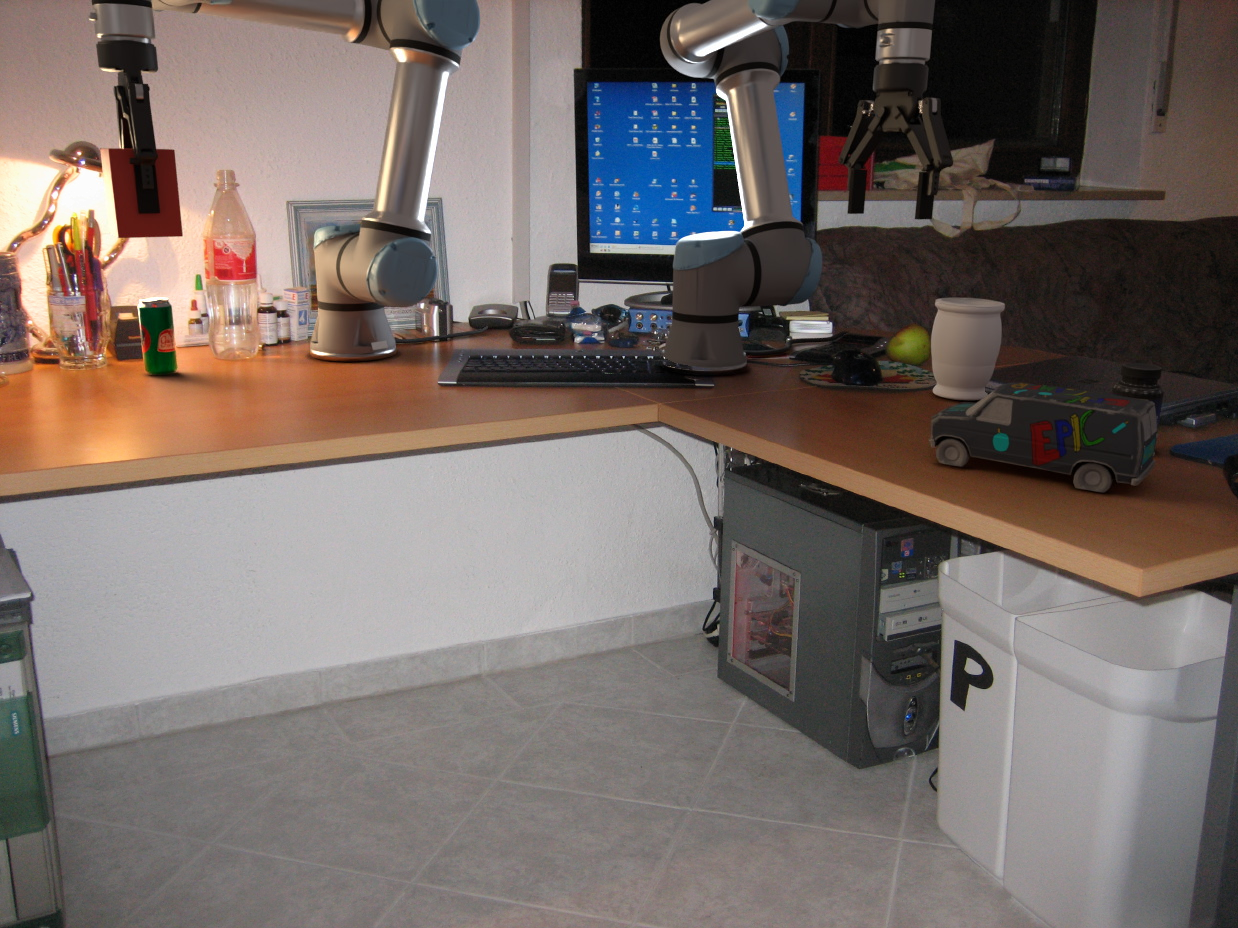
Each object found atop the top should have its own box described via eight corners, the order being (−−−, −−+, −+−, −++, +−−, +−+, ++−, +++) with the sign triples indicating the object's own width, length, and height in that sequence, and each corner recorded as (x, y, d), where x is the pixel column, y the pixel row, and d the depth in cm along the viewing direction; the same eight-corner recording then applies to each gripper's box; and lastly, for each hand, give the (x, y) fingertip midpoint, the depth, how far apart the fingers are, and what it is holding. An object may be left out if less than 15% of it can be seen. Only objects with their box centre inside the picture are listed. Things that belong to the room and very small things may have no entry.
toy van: (951, 443, 141) (959, 369, 139) (1155, 478, 128) (1168, 397, 125) (922, 461, 133) (930, 382, 130) (1136, 500, 119) (1151, 413, 116)
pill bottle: (1117, 454, 138) (1130, 370, 135) (1094, 442, 144) (1106, 361, 140) (1163, 454, 138) (1177, 370, 135) (1139, 442, 144) (1152, 361, 141)
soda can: (166, 376, 173) (158, 302, 169) (138, 374, 173) (130, 300, 170) (184, 370, 177) (177, 298, 174) (157, 368, 178) (149, 296, 175)
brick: (109, 233, 154) (100, 148, 151) (172, 232, 159) (163, 149, 155) (118, 238, 148) (108, 148, 144) (182, 236, 152) (174, 149, 149)
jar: (912, 390, 173) (921, 298, 169) (962, 386, 177) (972, 295, 173) (956, 405, 163) (966, 307, 159) (1008, 400, 167) (1020, 304, 163)
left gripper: (86, 45, 153) (105, 208, 159) (106, 33, 135) (126, 216, 142) (142, 48, 156) (158, 207, 163) (169, 37, 139) (186, 215, 146)
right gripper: (821, 66, 160) (812, 212, 166) (952, 56, 140) (935, 222, 146) (858, 69, 164) (847, 211, 170) (990, 60, 144) (972, 221, 150)
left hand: (144, 211), depth 152 cm, fingers closed on brick, 8 cm apart
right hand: (888, 216), depth 158 cm, fingers open, 13 cm apart
